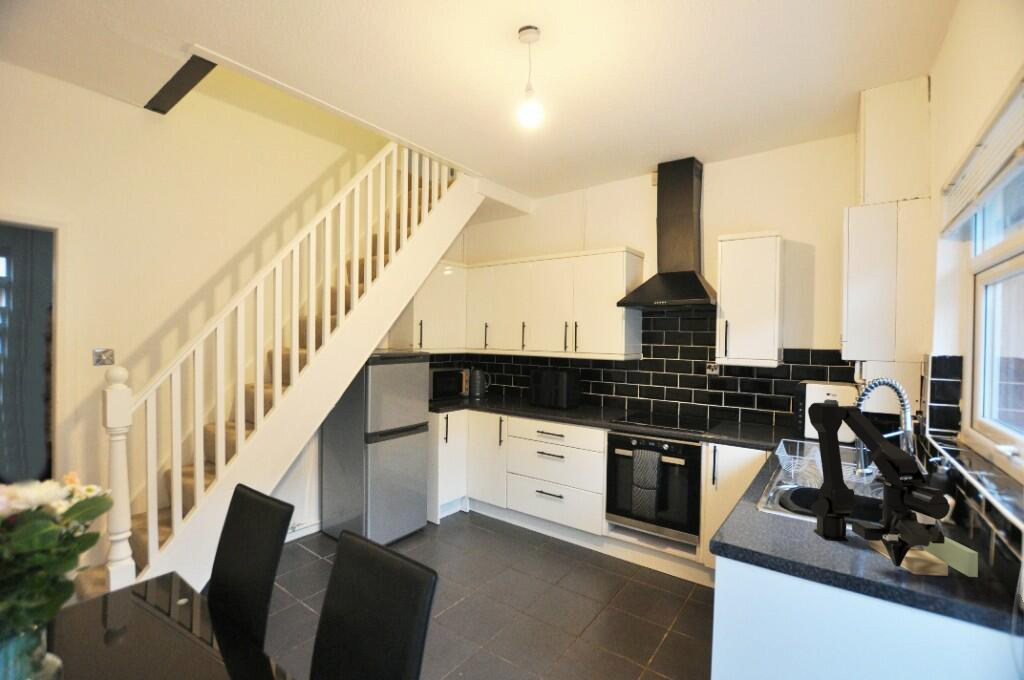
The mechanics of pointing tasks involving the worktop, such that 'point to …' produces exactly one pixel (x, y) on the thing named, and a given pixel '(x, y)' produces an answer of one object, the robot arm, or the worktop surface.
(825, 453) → the robot arm
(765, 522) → the worktop surface
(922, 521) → the smoothie
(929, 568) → the wooden sliding lid box
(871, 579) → the worktop surface
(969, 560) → the backstop board
